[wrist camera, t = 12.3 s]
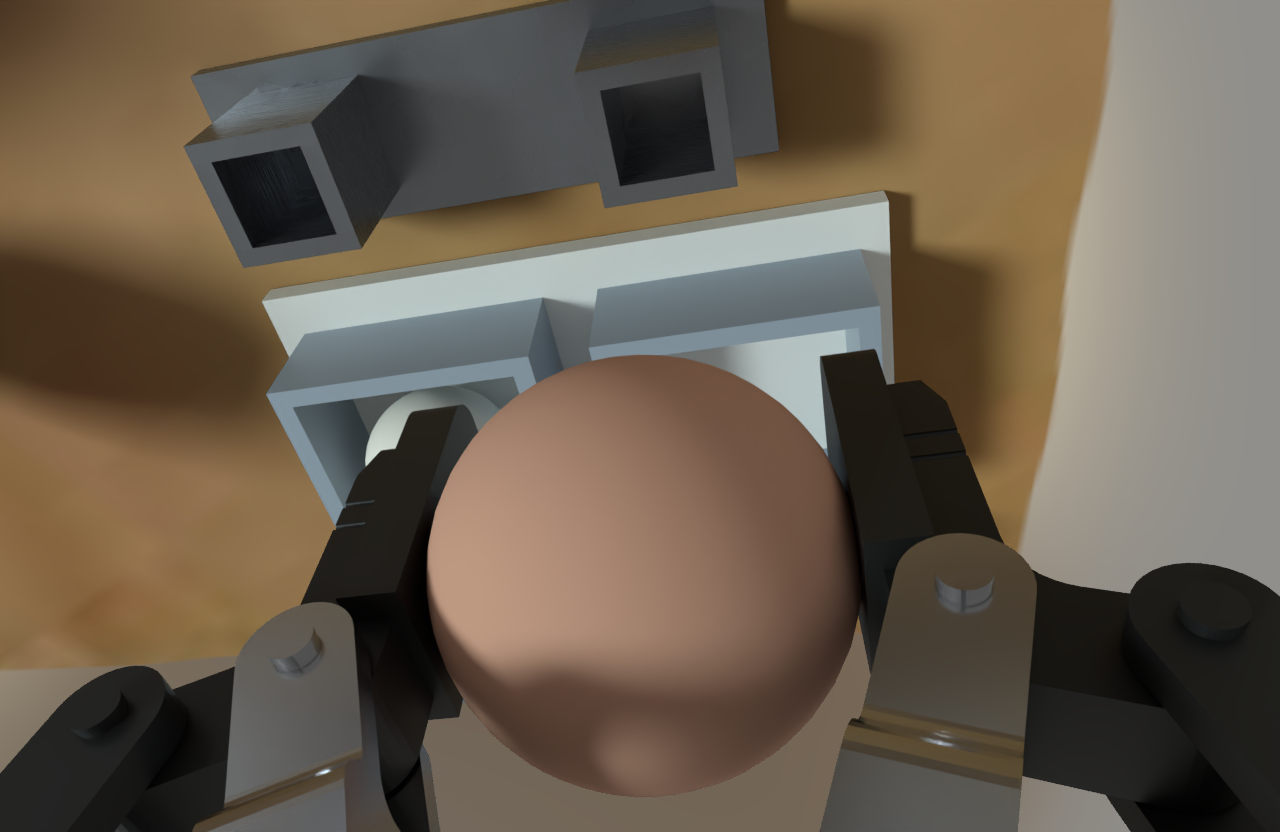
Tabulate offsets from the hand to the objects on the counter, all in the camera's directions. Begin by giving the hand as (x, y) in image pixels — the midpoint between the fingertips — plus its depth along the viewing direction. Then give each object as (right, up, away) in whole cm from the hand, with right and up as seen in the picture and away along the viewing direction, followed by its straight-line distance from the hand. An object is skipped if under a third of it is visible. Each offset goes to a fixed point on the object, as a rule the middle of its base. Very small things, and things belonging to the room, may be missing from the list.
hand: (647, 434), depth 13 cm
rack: (-1, +1, +19) cm, 19 cm away
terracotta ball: (0, -2, -2) cm, 3 cm away
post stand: (-4, +9, +14) cm, 17 cm away
